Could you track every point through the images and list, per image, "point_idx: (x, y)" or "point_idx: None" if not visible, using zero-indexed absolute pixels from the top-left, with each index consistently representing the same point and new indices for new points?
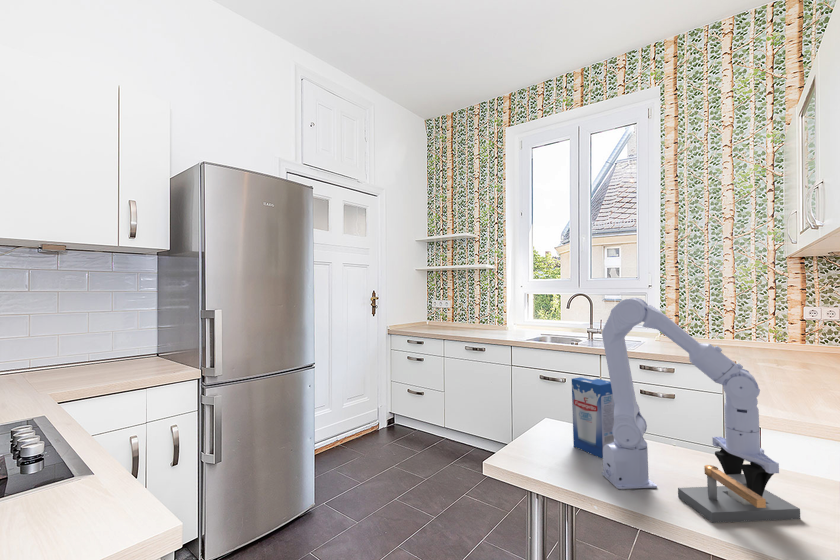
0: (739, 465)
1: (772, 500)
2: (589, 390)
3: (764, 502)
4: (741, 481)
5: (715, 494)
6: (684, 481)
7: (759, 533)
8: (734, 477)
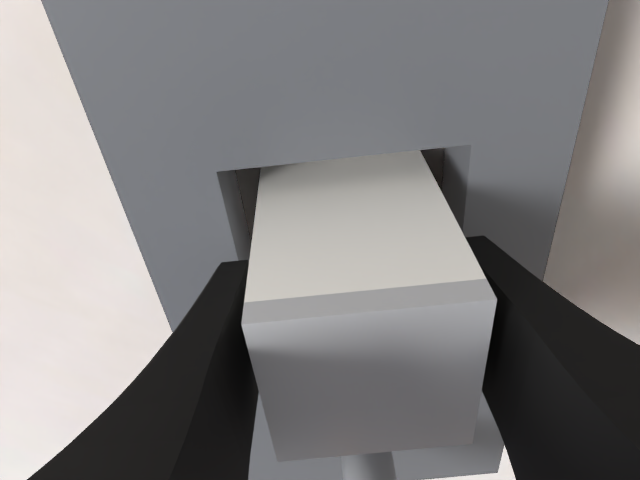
0: (203, 451)
1: (422, 67)
2: None
3: None
4: (435, 436)
5: (391, 455)
6: (10, 364)
7: (612, 309)
8: (346, 445)
